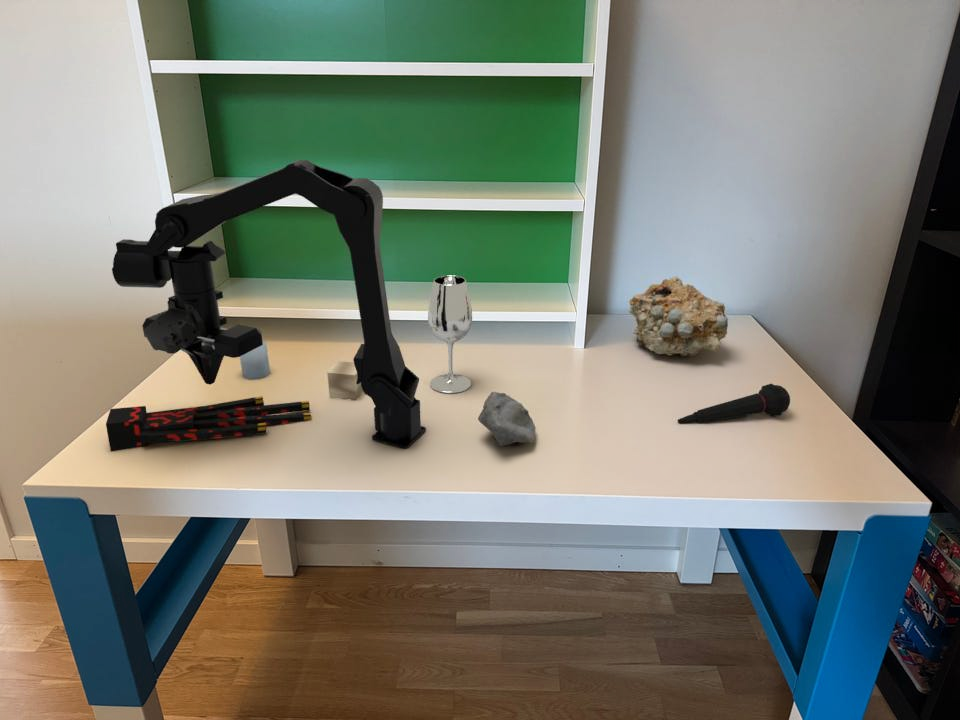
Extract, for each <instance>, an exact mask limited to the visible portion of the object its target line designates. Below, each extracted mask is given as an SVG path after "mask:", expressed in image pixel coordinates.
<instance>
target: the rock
mask: <svg viewBox="0 0 960 720" xmlns="http://www.w3.org/2000/svg"><path fill="white" fill-rule="evenodd" d="M682 281H683V280H682V279H681V278H679V277H678V276H677V275H676V276H672V277H670V278H669V279H667V278H665V279H663V280H662V282H661V283H660V284H657V283H656V284H655V283H653V284H650V285H649V287H648V288H647V290H645V291H644V292H643V293H642V292H641V293H640V294H635V295H633V296H632V298H631V299H629V301H628V302H629V305H630V307H629V309H628V313H629V314H631V315H633V317H634V318H635V321H636V324H637V326H636V327H635V329H634V330H633V332H632V333H631V334H632V335H633V334H634V335H636V336H637V337H636V343H637V344H638V346H639V347H641V348H647V349H649V350H650V351H651V352H652V351H653V352H654V353H655V354H657V355H667V356H673V355H676V354H679V355H680V356H681V357H688V356H691V357H695V356H696V355H697V354H698V353H699V352H700V350H702V349H705V350H706V349H707V350H709V351H713V352H718V351H719V348H720V347H721V341H722V339H724V338H725V339H726V337H727V335H728V328H729V327H728V326H729V323H728V320H729V318H728V317H727V316H726V315H725V310H726V307H725V302H724V303H723V302H720V300H719V301H718V300H712V299H711V298H709V297H707V296H705V295H704V294H703V293H702V292H701V291H700V290H698V289H697V288H696V287H694V285H690V284H686V285H684V284H683V282H682Z"/></svg>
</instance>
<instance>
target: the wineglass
mask: <svg viewBox="0 0 960 720" xmlns="http://www.w3.org/2000/svg"><path fill="white" fill-rule="evenodd" d="M468 289H469V288H468V284H467V280H466V279H465V278H464V277H462V276H459V275H441V276H438V277H435V278H434V279H433V283H432V288H431V292H430V298H429V303H428V312H427V314H428V315H427V319H428V320H427V322H428V326H429V329H430V331H431V333H432V334H433V335H434V336H435V337H436V338H437V339H439V341H440V340H441V342H444V343H446V345H447V351H448V371H447V372H448V373H447V374H441V375H438V376H436V377H434V378H432V379H431V380H430V382H429V384H430V388H431V389H433V390H434V391H436V392H439V393H443V394H458V393H462V392H464V391H465V392H466V391H467V390H468V389H470V387H471V386H472V381H471V380H470V378H468V377H467V376H465V375H461V374H454V373H453V371H454V370H453V350H454V349H453V348H454V343H456V342H458V341H460V340H462V339H463V338H464V337H465V336H467V334H468V333H469V332H470V330H471V327H472V325H473V310H472V303H471V297H470V294H469V290H468Z"/></svg>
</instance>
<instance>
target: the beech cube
mask: <svg viewBox="0 0 960 720" xmlns="http://www.w3.org/2000/svg"><path fill="white" fill-rule="evenodd" d="M326 374H327V382H328V383H327V384H328V394H329V395H328V396H329V399H336V398H339V400H347V399H351V400H350V401H358V400H357V399H359V398H360V397H361V395H362V394H363V393H364V392H363V390H362V387H361V383H359V384H356V382H357V371H356V368H355V365H354V361H353V362H352V361H341V360H337V361H336V362H335V363H334V365H333V366H332V367H331V368H330V369H329V370H328V372H327V373H326ZM340 398H341V399H340Z"/></svg>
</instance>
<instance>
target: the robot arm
mask: <svg viewBox="0 0 960 720" xmlns="http://www.w3.org/2000/svg"><path fill="white" fill-rule="evenodd" d="M295 194H296V195H298V196H300V197H302V198H303V199H306V200H307V201H309V202H310V203H311V204H313V205H314V206H315V207H317V208H319V209H320V210H322V211H325V212H327V213H329V214H331V215H333V216H334V219H335V222H336V224H337V225H336V226H337V229H338V231H339V233H340V236H341V237H342V239H343V240H344V242H345V244H346V246H347V248H348V250H349V253H350V254H349V255H350V259H351V267H352V272H353V279H354V285H355V293H356V297H357V304H358V305H357V306H358V312H359V317H360V322H361V323H360V324H361V329H362V335H363V343H360V345H359V347H358V349H357V351H356V354H355V355H354V357H353V360H352V361H353V362H354V365H355V368H356V371H357V382H356V384H359V383H361V387H362V390H363V393H364V395H366V396H368V397H369V398H370V399H371V400H372V403H373V404H374V406H375V407H373V417H374V419H373V420H374V430H375V431H376V432H374V434H373V435H371V440H372V441H376V442H380V443H383V444H387V445H391V446H394V447H398V448H401V449H407V448H409V447H411V446H412V445H413V443H414V442H416V441H417V440H418V439H419V438H420V437H421V436H422V435H423V434H424V433H425V432H426V431H427V428H426V427H425V426H422V425H421V424H422V423H421V400H420V399H417V398H416V397H415V396H416V392H417V389H418V385H419V383H420V382H419V381H420V377H418V376H417V375H416V374H415V373H414V372H413V371H412V370H410V369H409V368H408V366H406V363H405V361H404V357H403V355H402V354H403V353H402V351H401V349H400V345H399V344H398V342H397V340H396V338H395V337H394V335H393V332H392V326H391V319H390V311H389V306H388V305H389V304H388V298H387V289H386V283H385V282H386V281H385V275H384V268H383V260H382V254H381V246H380V242H381V240H380V239H381V232H382V225H383V224H382V223H383V209H384V208H383V206H384V199H383V198H384V195H383V193H382V189H381V188H380V186H379V185H377V184H376V183H375V182H373V181H372V180H370V179H368V178H364V177H358V178H353V177H351V176H348V175H347V174H344V173H341V172H337V171H335V170H332V169H328V168H325V167H321V166H319V165H317V164H316V163H313V162H311V161H309V160H307V159H302V158H300V159H297V160H295V161H293V162H291V163H289V164H287V165H286V166H285V167H282V168H280V169H277V170H274V171H272V172H269V173H267V174H265V175H262V176H260V177H257V178H254V179H252V180H250V181H247V182H245V183H242V184H240V185H237V186H234V187H232V188H230V189H228V190H224V191H223V192H218V193H217V192H216V193H209V194H202V195H198V196H191V197H187V198H182V199H180V200H178V201H176V202H174V203H171V204H169V205H167V206H165V207H162V208H161V209H160V210H158V211H157V212H156V214H155V220H154V224H155V225H154V226H155V230H154V231H153V233H152V234H151V236H150V238H149V239H148V240H147V241H146V240H145V241H144V240H134V239H122V240H120V241H119V240H118V241H117V242H116V243H115V247H116V251H115V254H114V257H113V261H112V268H111V273H112V276H113V278H114V281H115V283H116V284H117V285H118V286H120V287H122V288H149V289H150V288H152V289H155V288H156V289H161V288H162V289H163V288H164V287H165V286H166V285H167V282H170V281H171V283H172V288H173V295H172V296H169V297H168V300H167V307H168V308H167V310H164V311H162V312H160V313H156V314H154V315H151V316H148V317H146V318H145V320H144V322H143V324H142V325H141V327H142V332H143V337H144V338H146V339H147V341H148V342H149V344H150V346H151V347H152V349H153V350H154V351H162V352H165V353H167V354H177V353H178V352H179V351H182V352H183V353H186V354H187V355H188V357H189V358H190V360H191V361H192V363H193V365H194V367H195V368H196V369H197V372H199V374H200V377H201V378H202V380H203V381H204V383H205V384H207V385H213V384H214V383H215V382H216V379H217V376H218V374H219V370H220V367H221V365H222V362H223V360H224V358H225V357H228V358H233V359H235V358H236V359H237V358H240V356H242V355H244V354H246V353H248V352H250V351H252V350H254V349H256V348H258V347H260V346H262V345H263V342H262V340H263V337H262V330H260V329H258V328H257V327H253V326H248V325H243V324H239V323H238V324H236V325H235V326H233V327H230V328H226V327H222V326H225V325H226V324H228V321H227V316H222V315H220V310H219V309H220V308H219V304H218V303H219V300H220V299H223V298H224V295H223V291H222V290H217V288H216V284H215V283H216V281H215V277H214V276H215V275H214V270H213V263H212V262H217V260H220V259H221V258H222V257H223V256H225V254H226V251H225V250H224V249H222V248H221V247H220V246H217V244H215V242H213V241H212V240H209V241H206V243H204V244H203V246H202V245H191V244H193V243H194V242H195V241H197V240H199V239H201V238H202V237H204V236H206V235H207V234H209V233H210V232H212V231H213V230H216V229H217V228H218V227H219V226H221V225H223V224H224V223H226V222H227V221H229V220H231V219H234V218H236V217H239V216H241V215H244V214H247V213H250V212H252V211H255V210H257V209H259V208H262V207H264V206H267V205H270V204H272V203H274V202H277V201H281V200H283V199H285V198H288V197H289V196H290V197H291V196H292V195H295ZM172 248H181V249H180V250H171V249H172Z"/></svg>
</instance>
